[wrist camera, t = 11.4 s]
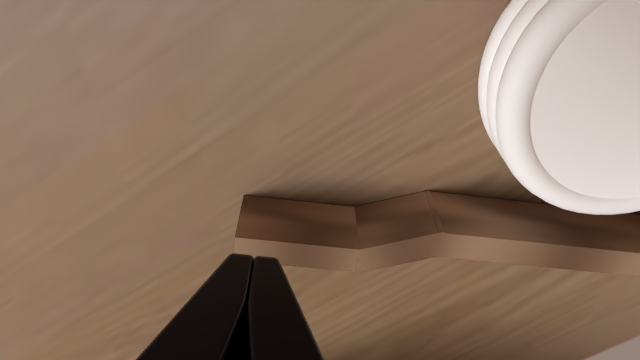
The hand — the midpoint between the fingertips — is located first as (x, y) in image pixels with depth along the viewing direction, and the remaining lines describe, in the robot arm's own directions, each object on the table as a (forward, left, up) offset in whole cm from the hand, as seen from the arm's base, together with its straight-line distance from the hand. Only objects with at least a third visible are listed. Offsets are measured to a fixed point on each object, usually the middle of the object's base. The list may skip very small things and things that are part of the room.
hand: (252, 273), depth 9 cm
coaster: (+1, -12, -12) cm, 18 cm away
